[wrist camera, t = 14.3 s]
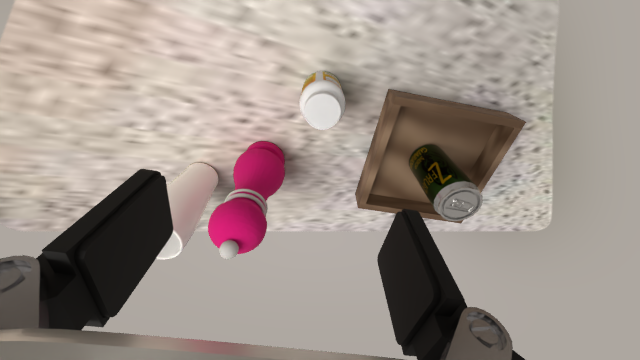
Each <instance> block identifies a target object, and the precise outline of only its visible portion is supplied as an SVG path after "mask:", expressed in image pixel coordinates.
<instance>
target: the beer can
mask: <svg viewBox="0 0 640 360" xmlns="http://www.w3.org/2000/svg"><path fill="white" fill-rule="evenodd" d="M409 167H410V169H411V171H412V173H413V174H414V176H415V178H416V179H417V181H418V183H419V184H420V186H421V188H422V189H423V191H424V193H425V194H426V196H427V198H428V199H429V201H430V203H431V204H432V206H433V207H434V209H435V211H436V212H437V213H438V214H440V215H441V216H442V217H443V218H444V219H446V220H449V221H461V220H464V219H467V218H469V217H471V216H473V215H474V214H475V213H476V212H477V211H478V210H479V208H480V207H481V205H482V201H483V200H482V195H481V194H480V191H479V189H478V187H477V186H476V185H475V184H474V183H473V182H472V181H471V180H470V178H469V177H468V176H467V175H466V174H465V173H464V172H463V171H462V170H461V169H460V168H459V167H458V166H457V165H456V164H455V163H454V162H453V160H452V159H451V158H450V157H449V156H448V155H447V154H446V153H445V152H444V151H443V150H442V149H441V148H440V147H438V146H437V145H432V144H426V145H422V146H419V147H418V148H416V149H415V150H414V151H413V152H412V153H411V156H410V158H409Z"/></svg>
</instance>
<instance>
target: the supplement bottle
mask: <svg viewBox="0 0 640 360" xmlns="http://www.w3.org/2000/svg"><path fill="white" fill-rule="evenodd" d="M344 110H345V97H344V94H343V91H342V88H341V85H340V83H339V81H338V79H337V78H336V77H335V76H334V75H333V74H331V73H329V72H325V71H319V72H315V73H313V74H311V75H310V76H309V77H308V78H307V79H306V81H305V83H304V85H303V89H302V93H301V96H300V111H301V113H302V115H303V117H304V118H305V120H306V121H307V122H308V123H309V125H311V126H312V127H313V128H316V129H319V130H326V129H330V128H332V127H333V126H334V125H336V124H337V122H338V121H339V120H340V118H341V117H342V115H343V113H344Z"/></svg>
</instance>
